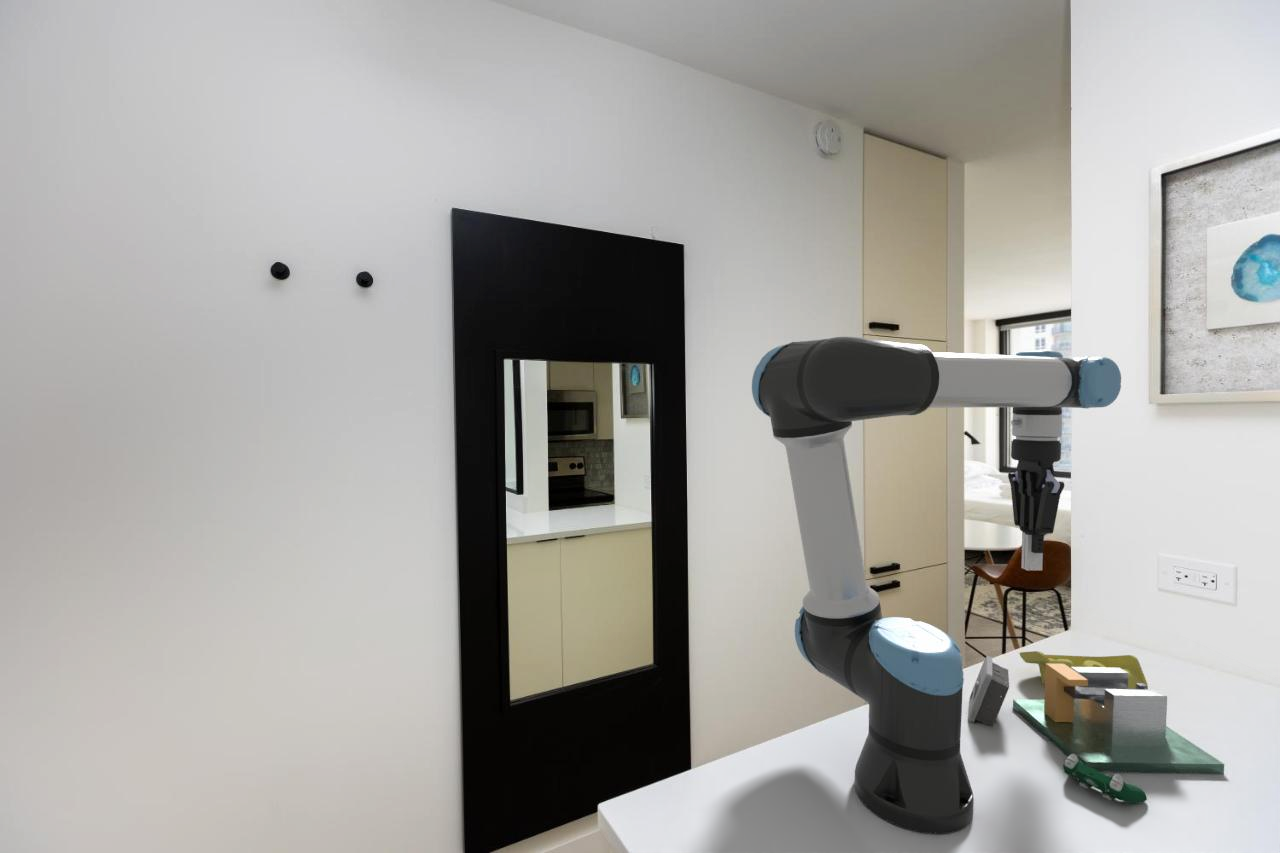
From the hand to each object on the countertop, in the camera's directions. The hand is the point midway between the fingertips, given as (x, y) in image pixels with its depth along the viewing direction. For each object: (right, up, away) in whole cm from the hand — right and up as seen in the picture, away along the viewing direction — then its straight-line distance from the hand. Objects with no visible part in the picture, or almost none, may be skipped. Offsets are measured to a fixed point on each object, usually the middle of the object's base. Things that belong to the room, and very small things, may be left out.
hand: (1031, 568), depth 113 cm
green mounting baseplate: (+6, -25, -11) cm, 28 cm away
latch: (0, -23, -9) cm, 25 cm away
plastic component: (+14, -24, +9) cm, 29 cm away
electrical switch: (-10, -25, -3) cm, 27 cm away
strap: (+6, -18, -11) cm, 22 cm away
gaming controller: (-6, -26, -24) cm, 36 cm away
